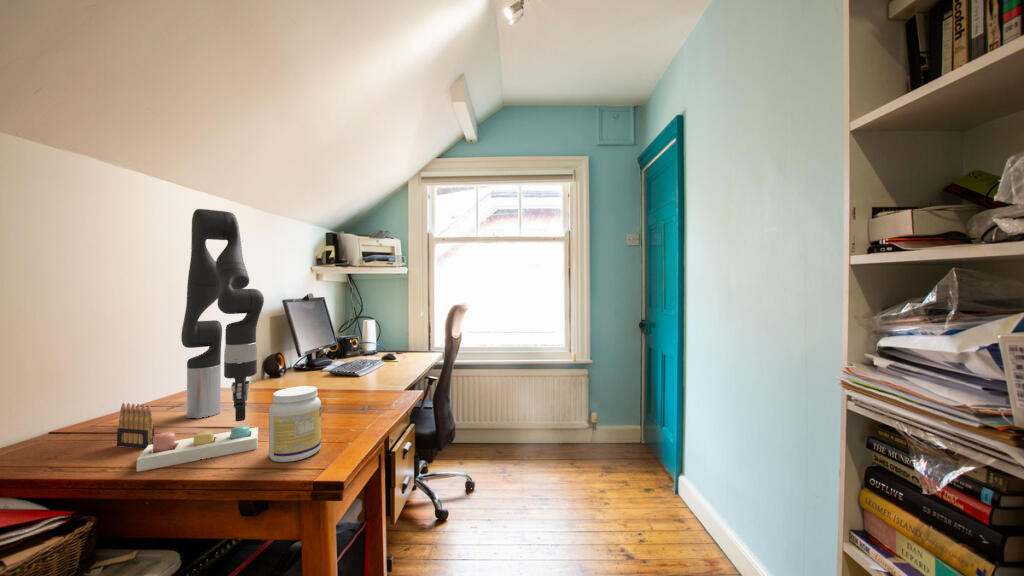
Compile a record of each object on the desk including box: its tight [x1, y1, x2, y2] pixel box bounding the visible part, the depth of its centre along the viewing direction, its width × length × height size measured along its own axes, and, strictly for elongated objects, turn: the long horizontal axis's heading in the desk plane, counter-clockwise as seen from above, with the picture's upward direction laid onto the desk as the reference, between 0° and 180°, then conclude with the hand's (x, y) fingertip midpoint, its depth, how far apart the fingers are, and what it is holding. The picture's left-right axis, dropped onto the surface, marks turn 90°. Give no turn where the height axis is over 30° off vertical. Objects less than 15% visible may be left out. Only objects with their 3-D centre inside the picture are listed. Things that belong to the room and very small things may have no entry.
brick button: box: [153, 431, 176, 453], centre depth 96 cm, size 4×4×4 cm
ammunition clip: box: [116, 402, 155, 450], centre depth 105 cm, size 11×2×12 cm, turn 80°
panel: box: [136, 426, 259, 472], centre depth 101 cm, size 10×24×3 cm, turn 123°
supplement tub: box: [268, 385, 322, 463], centre depth 100 cm, size 12×12×17 cm
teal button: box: [230, 424, 250, 440], centre depth 105 cm, size 4×4×4 cm
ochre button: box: [193, 430, 215, 446], centre depth 101 cm, size 4×4×4 cm
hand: (240, 420), depth 105 cm, fingers closed
